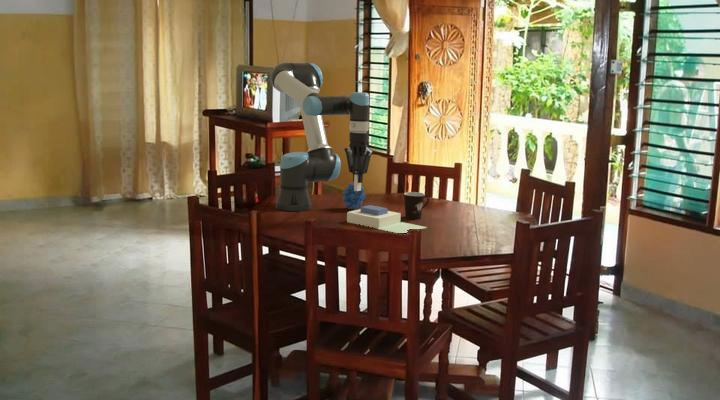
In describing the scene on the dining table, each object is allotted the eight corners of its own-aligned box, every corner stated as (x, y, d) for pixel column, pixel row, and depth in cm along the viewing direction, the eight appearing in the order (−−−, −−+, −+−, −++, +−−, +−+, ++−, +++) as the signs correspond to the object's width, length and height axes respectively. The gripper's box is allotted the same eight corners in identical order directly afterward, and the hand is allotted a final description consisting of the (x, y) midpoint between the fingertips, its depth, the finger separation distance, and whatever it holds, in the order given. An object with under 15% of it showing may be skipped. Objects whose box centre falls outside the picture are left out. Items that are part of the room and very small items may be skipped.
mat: (377, 229, 295) (377, 228, 295) (401, 222, 308) (401, 222, 308) (402, 234, 288) (402, 234, 288) (426, 227, 300) (426, 227, 300)
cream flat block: (346, 221, 306) (347, 212, 305) (368, 216, 317) (369, 207, 316) (378, 228, 296) (379, 218, 295) (400, 223, 307) (400, 213, 306)
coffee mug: (405, 220, 312) (406, 196, 310) (400, 215, 320) (401, 192, 318) (433, 220, 314) (434, 195, 312) (427, 215, 323) (428, 191, 321)
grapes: (370, 210, 329) (371, 182, 327) (361, 212, 324) (362, 184, 321) (349, 206, 336) (349, 179, 334) (339, 208, 331) (340, 180, 328)
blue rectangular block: (360, 212, 306) (360, 207, 306) (369, 209, 311) (369, 205, 310) (378, 215, 300) (378, 210, 300) (387, 213, 305) (387, 208, 305)
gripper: (340, 131, 306) (339, 189, 310) (365, 133, 298) (364, 193, 302) (352, 129, 312) (350, 187, 316) (377, 132, 304) (376, 191, 308)
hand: (357, 190), depth 309 cm, fingers closed
